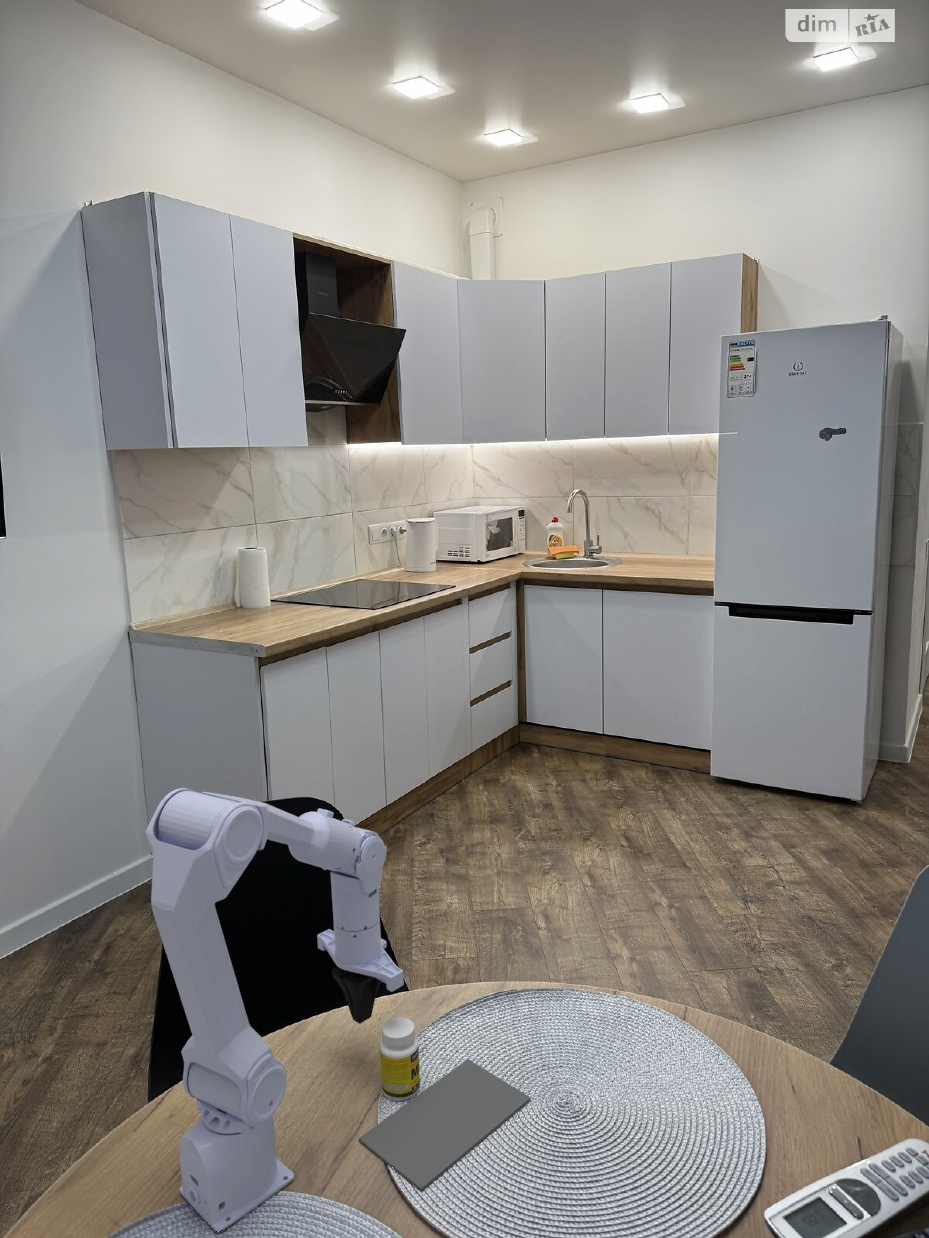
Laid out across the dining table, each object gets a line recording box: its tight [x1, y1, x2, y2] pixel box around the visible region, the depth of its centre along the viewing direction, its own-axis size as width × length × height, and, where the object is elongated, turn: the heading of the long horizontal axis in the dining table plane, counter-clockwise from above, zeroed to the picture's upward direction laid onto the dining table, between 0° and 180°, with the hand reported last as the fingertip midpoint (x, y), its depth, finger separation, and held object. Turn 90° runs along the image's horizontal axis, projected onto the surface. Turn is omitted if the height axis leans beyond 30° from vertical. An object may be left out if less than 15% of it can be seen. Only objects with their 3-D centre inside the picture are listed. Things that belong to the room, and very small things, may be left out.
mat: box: [358, 1058, 532, 1193], centre depth 104 cm, size 18×10×1 cm, turn 136°
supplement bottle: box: [379, 1016, 421, 1102], centre depth 108 cm, size 5×5×8 cm
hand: (362, 1017), depth 113 cm, fingers closed
